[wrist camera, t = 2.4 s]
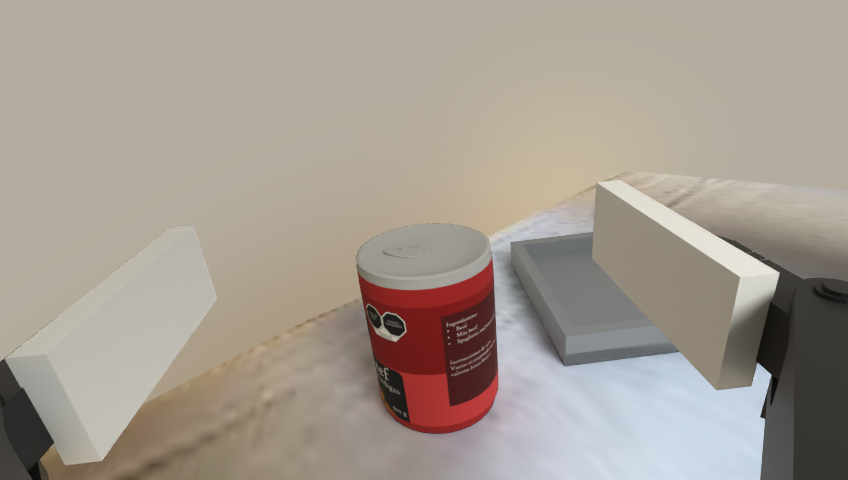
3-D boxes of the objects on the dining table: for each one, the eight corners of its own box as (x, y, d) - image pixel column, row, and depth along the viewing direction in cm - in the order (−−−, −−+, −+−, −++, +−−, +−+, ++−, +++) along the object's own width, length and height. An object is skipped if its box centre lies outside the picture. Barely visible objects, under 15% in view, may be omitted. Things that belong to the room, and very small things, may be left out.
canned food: (387, 360, 34) (363, 228, 30) (491, 352, 34) (484, 216, 29) (375, 442, 27) (342, 285, 23) (507, 433, 27) (500, 272, 22)
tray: (664, 245, 46) (667, 223, 45) (788, 337, 32) (797, 307, 31) (511, 264, 46) (510, 242, 45) (565, 365, 31) (566, 336, 30)
